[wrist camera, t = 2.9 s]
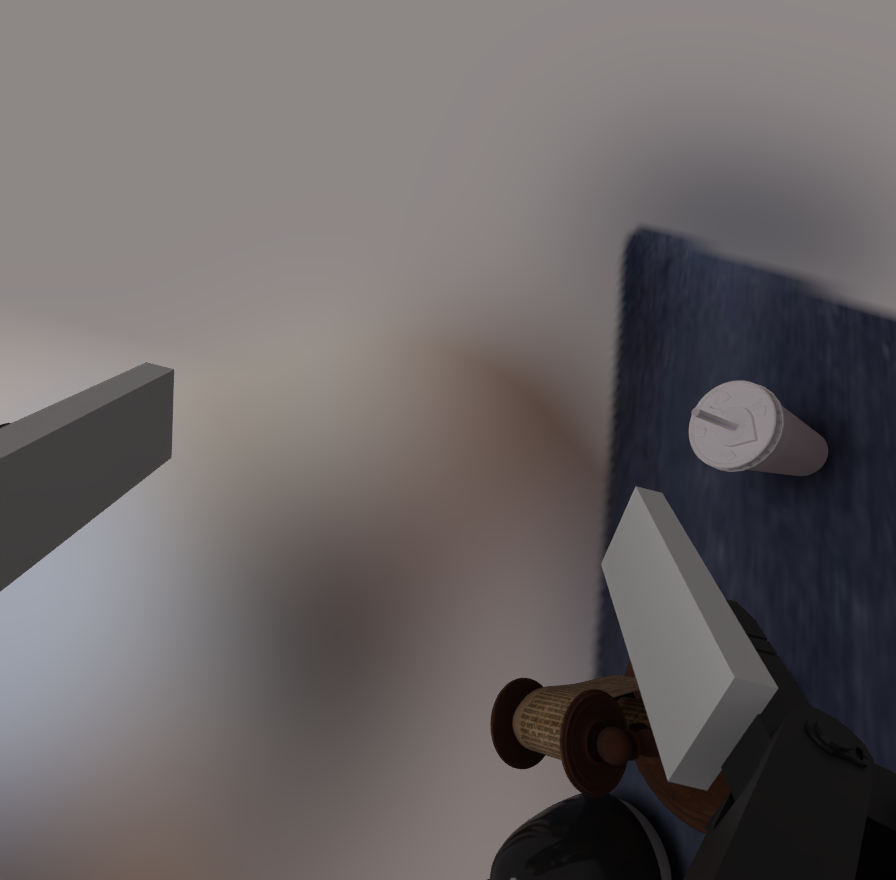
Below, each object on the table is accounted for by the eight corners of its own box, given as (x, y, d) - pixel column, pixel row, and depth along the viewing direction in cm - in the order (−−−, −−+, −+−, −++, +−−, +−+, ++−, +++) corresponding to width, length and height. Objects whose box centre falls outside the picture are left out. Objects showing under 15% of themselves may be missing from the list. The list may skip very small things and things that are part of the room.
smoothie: (812, 509, 40) (697, 475, 33) (744, 466, 45) (633, 428, 39) (869, 437, 38) (758, 384, 31) (791, 399, 43) (682, 347, 36)
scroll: (799, 625, 39) (608, 607, 30) (837, 868, 34) (624, 942, 25) (635, 622, 51) (461, 608, 41) (647, 801, 46) (452, 834, 37)
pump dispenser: (580, 797, 52) (448, 816, 45) (662, 777, 46) (523, 795, 38) (615, 938, 46) (469, 987, 39) (716, 938, 39) (562, 997, 32)
